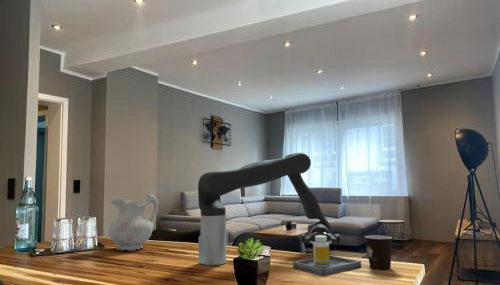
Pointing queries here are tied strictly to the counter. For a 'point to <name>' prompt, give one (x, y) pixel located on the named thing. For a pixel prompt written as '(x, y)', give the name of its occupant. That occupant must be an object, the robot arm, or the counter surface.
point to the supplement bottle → (321, 252)
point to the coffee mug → (379, 251)
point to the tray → (335, 266)
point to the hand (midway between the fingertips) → (320, 241)
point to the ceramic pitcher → (132, 223)
